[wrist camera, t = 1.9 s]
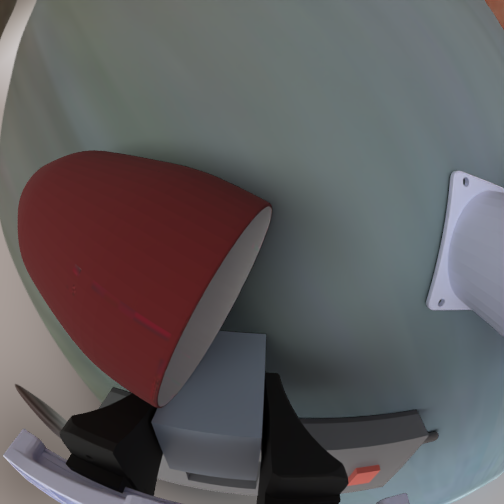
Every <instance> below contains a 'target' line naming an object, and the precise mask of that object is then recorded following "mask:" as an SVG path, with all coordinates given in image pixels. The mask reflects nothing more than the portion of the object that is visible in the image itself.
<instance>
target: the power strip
mask: <svg viewBox="0 0 504 504" xmlns="http://www.w3.org/2000/svg"><path fill="white" fill-rule="evenodd" d="M130 394H131V393H130V392H126V391H123V390H120V389H117V388H114V387H113V388H112V389H111V391H110V392H109V394H108V395H107V397H106V398H105V400H104V401H103V403H102V404H101V406H100V407H99V409H100V408H103V407H106V406H108V405H110V404H112V403H115V402H117V401H119V400H121V399H123V398H124V397H126V396H128V395H130ZM300 421H301V422H302V424H303V425H304V427H305V428H306V429H307V430H308V432H309V433H310V434H311V435H312V437H313V438H314V439H315V440H316V441H317V442H318V443H319V444H320V445H321V446H322V447H323V448H324V449H325V450H326V451H327V452H329V453H330V454H331V455H332V456H333V457H335V458H336V459H337V460H339V461H340V462H341V463H343V465H344V467H345V470H346V473H347V476H348V482H349V484H348V485H347V487H346V488H345V489H344V490H343V491H342V492H341V493H349V492H356V491H362V490H368V489H373V488H378V487H383V486H384V485H385V484H386V483H387V482H388V481H389V480H390V479H391V478H392V477H393V476H394V475H395V474H396V473H397V472H398V471H399V470H400V469H401V467H402V466H403V465H404V464H405V463H406V462H407V461H408V460H409V459H410V457H411V456H412V455H413V454H414V453H415V452H416V450H417V449H418V448H419V447H420V446H421V444H424V443H428V442H432V441H435V440H436V439H437V438H438V436H439V434H438V433H437V432H431V433H428V432H427V430H426V428H425V426H424V424H423V422H422V420H421V417H420V415H419V413H418V411H417V410H412V411H406V412H399V413H392V414H384V415H375V416H364V417H351V418H328V419H300ZM260 464H261V448H260V456H259V463H258V471H257V479H256V481H253V480H239V479H229V478H220V477H213V476H206V475H200V474H194V473H188V472H183V471H179V470H174V469H170V468H169V466H168V463H167V461H166V459H165V456H164V454H163V456H162V460H161V464H160V467H159V472H158V476H157V479H160V480H164V481H168V482H172V483H176V484H180V485H185V486H190V487H195V488H200V489H205V490H211V491H217V492H225V493H233V494H243V495H255V496H258V486H259V476H260ZM341 493H340V494H341Z"/></svg>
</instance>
